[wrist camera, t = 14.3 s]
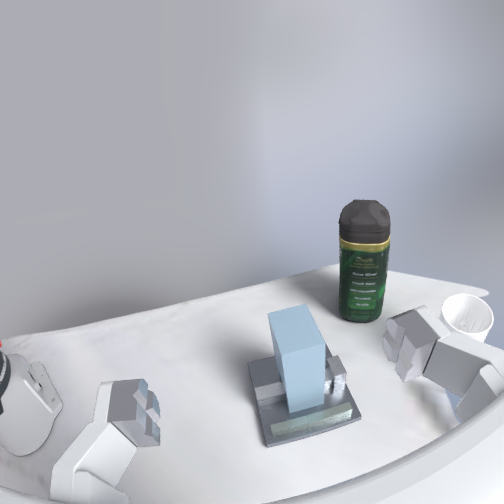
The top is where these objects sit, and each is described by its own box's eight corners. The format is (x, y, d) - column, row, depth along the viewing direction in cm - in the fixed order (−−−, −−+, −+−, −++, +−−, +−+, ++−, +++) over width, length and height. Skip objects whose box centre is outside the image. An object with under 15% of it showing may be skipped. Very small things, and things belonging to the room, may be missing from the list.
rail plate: (267, 447, 30) (263, 435, 28) (248, 366, 43) (244, 349, 41) (360, 419, 31) (364, 404, 29) (325, 346, 43) (325, 328, 42)
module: (289, 413, 33) (281, 354, 28) (277, 372, 40) (266, 309, 34) (323, 403, 34) (325, 342, 28) (308, 364, 40) (304, 300, 34)
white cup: (455, 392, 30) (481, 344, 25) (415, 365, 36) (431, 315, 31) (478, 357, 33) (500, 308, 28) (441, 335, 39) (456, 286, 34)
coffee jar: (382, 326, 44) (393, 221, 35) (335, 323, 47) (334, 220, 38) (383, 290, 52) (389, 195, 43) (342, 287, 55) (340, 194, 46)
